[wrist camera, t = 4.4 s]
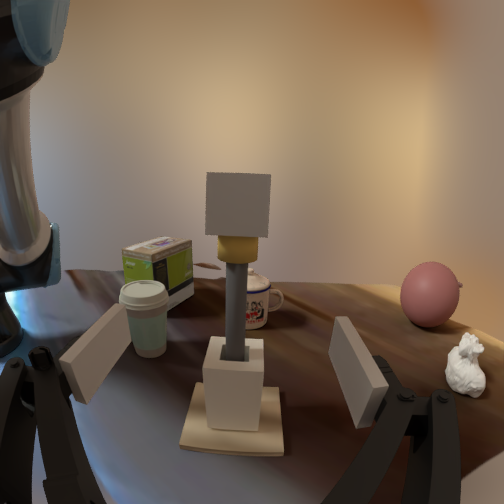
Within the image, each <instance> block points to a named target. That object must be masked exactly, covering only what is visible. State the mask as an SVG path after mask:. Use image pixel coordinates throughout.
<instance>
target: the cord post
mask: <svg viewBox="0 0 504 504" xmlns="http://www.w3.org/2000/svg"><path fill="white" fill-rule="evenodd" d="M270 185H271V175H270V174H250V173H214V172H212V173H211V172H210V173H209V172H207V181H206V223H205V227H206V229H205V234H206V235H218V259H219V260H221V261H223V262H226V361H238V362H244V355H245V330H246V305H247V281H248V263H251V262H254V261H256V260H257V253H258V237H265V238H267V237H268V223H269V204H270Z"/></svg>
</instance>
